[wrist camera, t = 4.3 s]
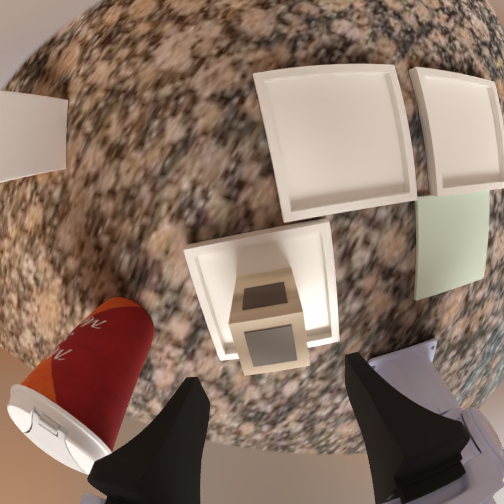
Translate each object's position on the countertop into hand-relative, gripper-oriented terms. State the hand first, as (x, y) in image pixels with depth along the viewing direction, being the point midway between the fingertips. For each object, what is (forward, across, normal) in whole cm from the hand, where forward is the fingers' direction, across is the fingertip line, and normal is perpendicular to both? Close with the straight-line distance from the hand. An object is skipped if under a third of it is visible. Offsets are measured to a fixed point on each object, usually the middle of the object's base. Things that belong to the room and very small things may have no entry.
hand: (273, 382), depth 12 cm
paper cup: (+10, +13, +1) cm, 16 cm away
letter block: (+9, 0, 0) cm, 9 cm away
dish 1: (+9, -7, -10) cm, 16 cm away
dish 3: (+9, -19, -10) cm, 24 cm away
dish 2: (+9, 0, 0) cm, 9 cm away
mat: (+9, -17, -1) cm, 19 cm away
